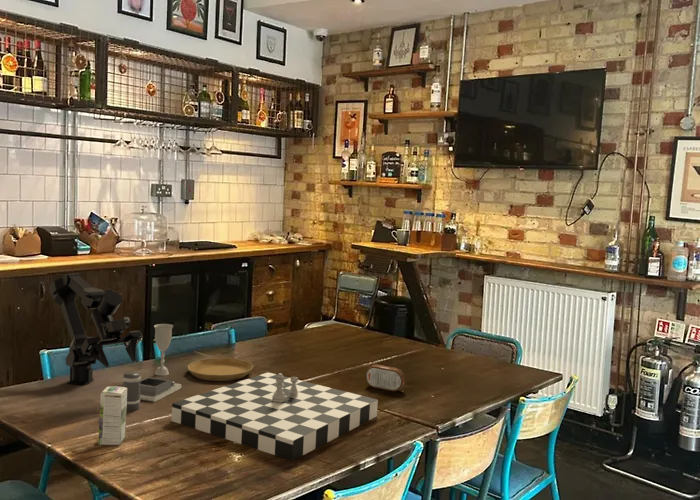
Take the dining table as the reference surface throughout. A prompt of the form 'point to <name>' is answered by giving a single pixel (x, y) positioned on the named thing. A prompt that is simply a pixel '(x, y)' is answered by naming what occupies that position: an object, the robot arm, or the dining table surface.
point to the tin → (385, 377)
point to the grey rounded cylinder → (132, 390)
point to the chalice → (163, 344)
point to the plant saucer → (220, 369)
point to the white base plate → (156, 388)
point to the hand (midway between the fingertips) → (121, 364)
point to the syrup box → (112, 415)
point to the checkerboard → (276, 414)
